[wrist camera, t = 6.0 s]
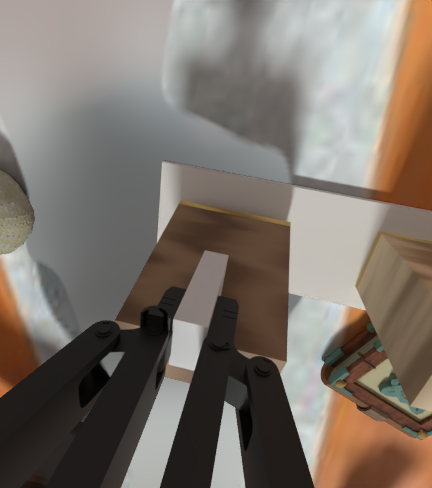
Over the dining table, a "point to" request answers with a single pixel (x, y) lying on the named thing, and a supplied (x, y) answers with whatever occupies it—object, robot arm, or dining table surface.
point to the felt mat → (300, 224)
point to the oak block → (402, 309)
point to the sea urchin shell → (13, 215)
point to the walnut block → (236, 276)
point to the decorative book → (374, 384)
